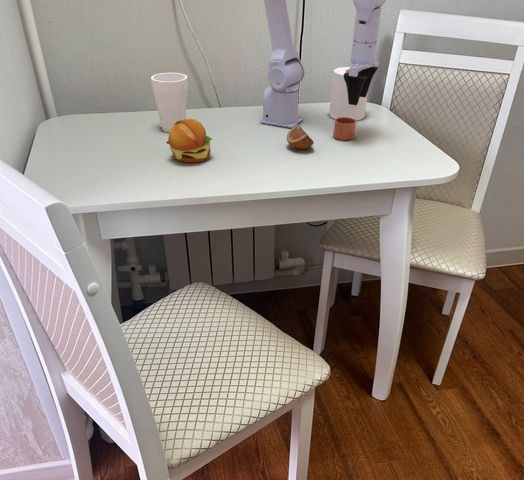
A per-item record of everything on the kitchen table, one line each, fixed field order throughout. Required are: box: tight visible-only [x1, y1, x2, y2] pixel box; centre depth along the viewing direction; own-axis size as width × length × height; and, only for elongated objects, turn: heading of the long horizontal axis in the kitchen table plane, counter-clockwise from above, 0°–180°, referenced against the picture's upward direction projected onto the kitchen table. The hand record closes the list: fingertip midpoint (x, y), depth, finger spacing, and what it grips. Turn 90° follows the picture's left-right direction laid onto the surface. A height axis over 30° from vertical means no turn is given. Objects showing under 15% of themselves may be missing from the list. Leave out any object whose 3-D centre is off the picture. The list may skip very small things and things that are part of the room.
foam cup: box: [150, 72, 189, 133], centre depth 146 cm, size 10×9×13 cm
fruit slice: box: [286, 123, 315, 150], centre depth 138 cm, size 8×7×5 cm
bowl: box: [332, 117, 357, 141], centre depth 145 cm, size 6×6×4 cm
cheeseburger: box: [165, 118, 213, 163], centre depth 131 cm, size 10×11×10 cm
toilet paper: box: [329, 66, 369, 121], centre depth 157 cm, size 10×10×12 cm
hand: (357, 100), depth 141 cm, fingers open, 7 cm apart
